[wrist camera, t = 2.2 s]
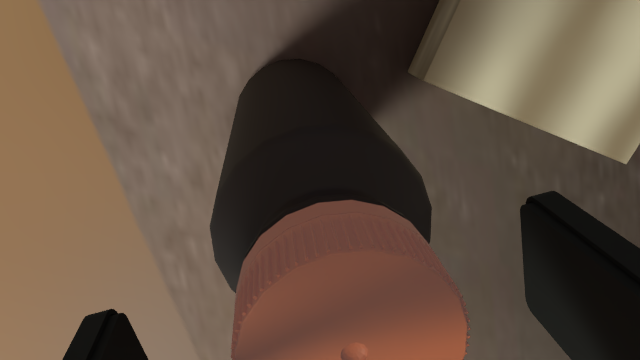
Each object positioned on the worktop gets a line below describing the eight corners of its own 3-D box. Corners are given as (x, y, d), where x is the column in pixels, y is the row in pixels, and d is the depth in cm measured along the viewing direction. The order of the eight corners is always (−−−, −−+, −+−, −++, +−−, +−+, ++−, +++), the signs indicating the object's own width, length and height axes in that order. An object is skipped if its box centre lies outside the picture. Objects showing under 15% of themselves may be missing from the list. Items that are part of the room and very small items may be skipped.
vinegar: (288, 32, 26) (348, 121, 8) (373, 110, 28) (579, 326, 10) (212, 122, 28) (108, 383, 9) (299, 190, 30) (358, 512, 11)
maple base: (727, -72, 27) (781, -80, 24) (593, 149, 31) (626, 164, 28) (526, -194, 23) (561, -219, 21) (407, 72, 28) (423, 80, 25)
